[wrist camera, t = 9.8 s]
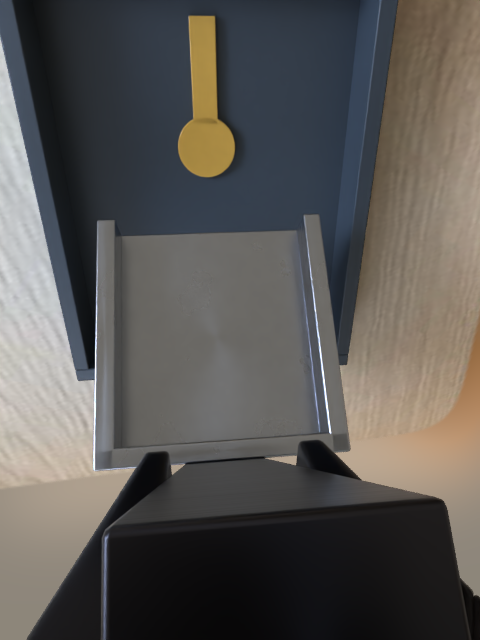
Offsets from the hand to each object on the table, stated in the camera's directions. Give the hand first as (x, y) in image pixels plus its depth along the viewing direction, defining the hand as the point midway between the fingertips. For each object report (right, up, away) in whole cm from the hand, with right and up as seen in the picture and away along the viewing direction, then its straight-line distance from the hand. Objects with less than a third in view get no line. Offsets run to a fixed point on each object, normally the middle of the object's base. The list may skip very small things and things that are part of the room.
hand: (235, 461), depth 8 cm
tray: (-1, +8, +10) cm, 13 cm away
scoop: (-1, +1, +7) cm, 7 cm away
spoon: (-1, +11, +8) cm, 14 cm away
